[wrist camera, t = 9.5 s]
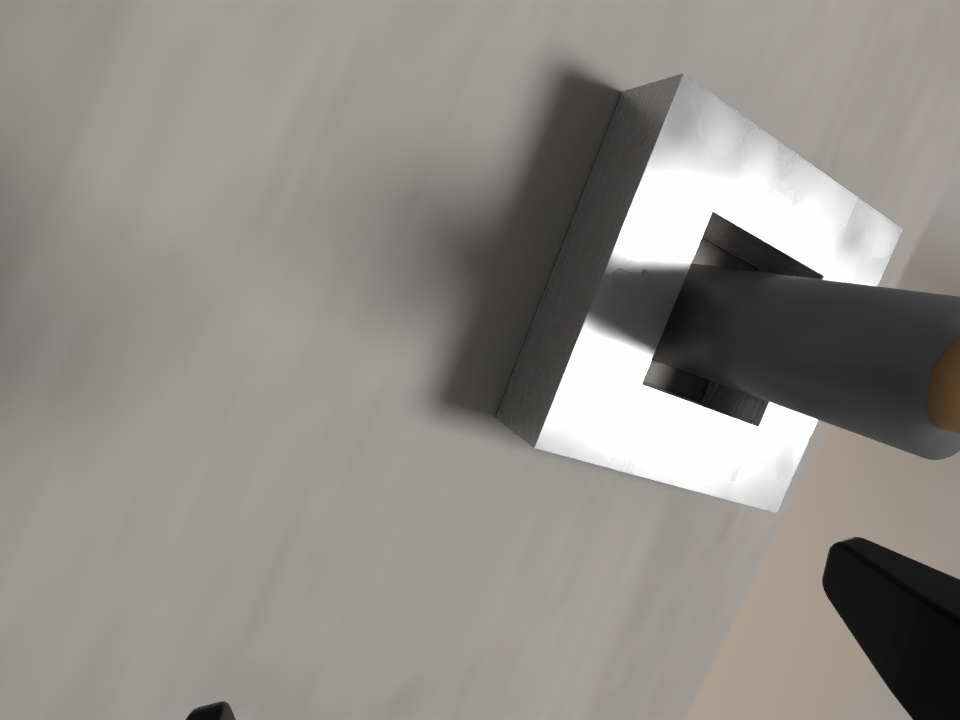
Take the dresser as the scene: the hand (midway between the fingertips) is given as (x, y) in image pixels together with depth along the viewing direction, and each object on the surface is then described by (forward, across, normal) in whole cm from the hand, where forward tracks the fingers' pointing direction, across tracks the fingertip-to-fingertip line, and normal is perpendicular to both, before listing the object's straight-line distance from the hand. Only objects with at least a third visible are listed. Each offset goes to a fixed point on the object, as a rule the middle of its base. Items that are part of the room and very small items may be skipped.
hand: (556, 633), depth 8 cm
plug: (+14, -10, +2) cm, 17 cm away
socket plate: (+14, -10, +2) cm, 17 cm away
